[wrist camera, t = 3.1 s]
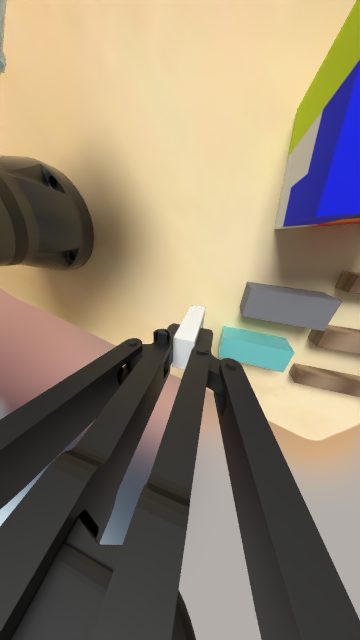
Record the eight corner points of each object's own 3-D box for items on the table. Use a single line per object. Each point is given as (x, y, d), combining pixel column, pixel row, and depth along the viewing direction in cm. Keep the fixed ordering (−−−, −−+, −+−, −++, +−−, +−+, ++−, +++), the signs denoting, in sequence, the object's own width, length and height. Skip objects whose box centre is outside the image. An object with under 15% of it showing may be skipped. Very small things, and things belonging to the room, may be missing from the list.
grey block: (239, 306, 25) (242, 316, 21) (246, 281, 23) (251, 288, 19) (308, 317, 23) (323, 331, 19) (322, 292, 21) (342, 301, 17)
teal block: (218, 343, 29) (218, 357, 25) (223, 325, 27) (223, 337, 23) (275, 355, 27) (283, 372, 23) (284, 337, 25) (294, 352, 21)
